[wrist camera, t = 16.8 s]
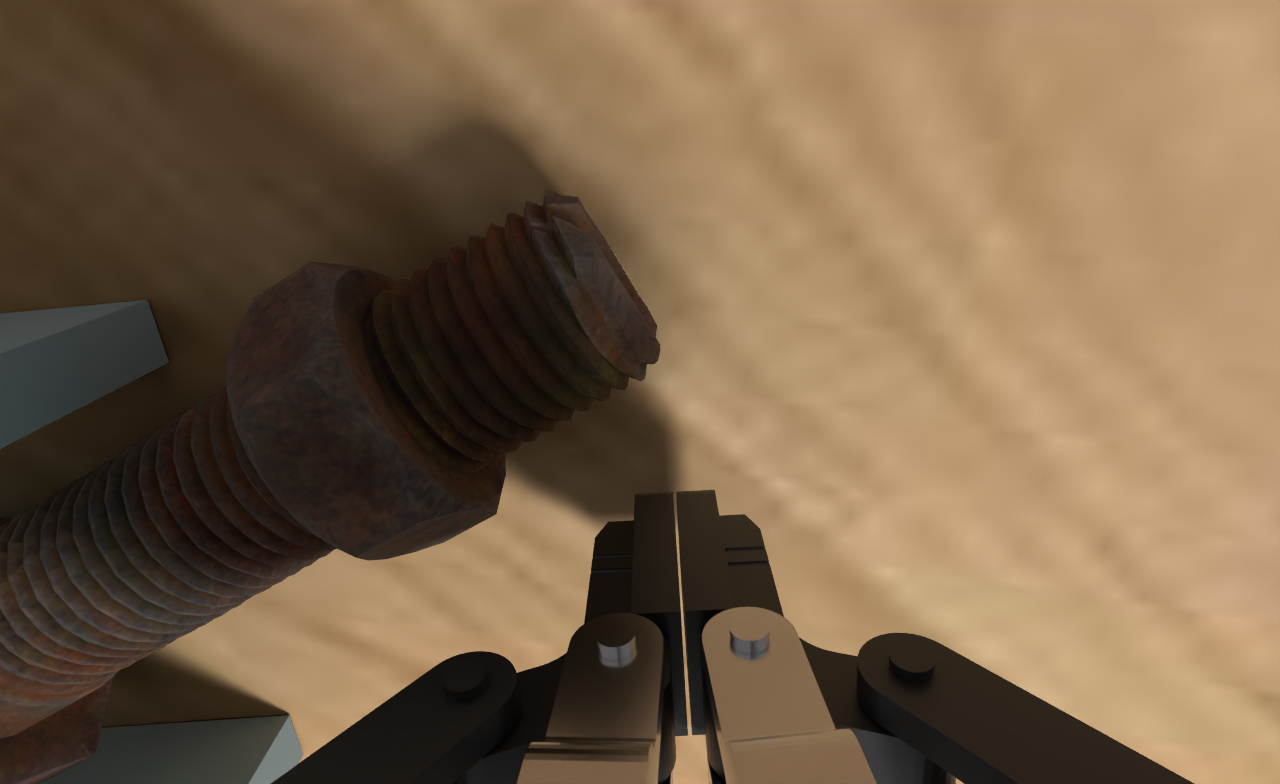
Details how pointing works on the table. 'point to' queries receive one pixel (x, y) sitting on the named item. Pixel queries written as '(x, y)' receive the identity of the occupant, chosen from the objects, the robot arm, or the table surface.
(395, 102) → the table surface
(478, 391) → the bolt
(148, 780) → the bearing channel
